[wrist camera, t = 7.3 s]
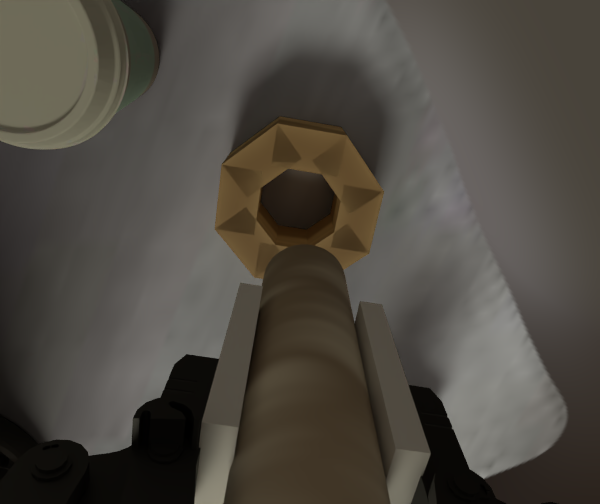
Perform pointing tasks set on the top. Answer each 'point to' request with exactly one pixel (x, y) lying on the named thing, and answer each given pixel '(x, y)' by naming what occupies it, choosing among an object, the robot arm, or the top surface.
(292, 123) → the tan faceted ring
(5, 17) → the coffee cup
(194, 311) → the top surface
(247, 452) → the wooden dowel
